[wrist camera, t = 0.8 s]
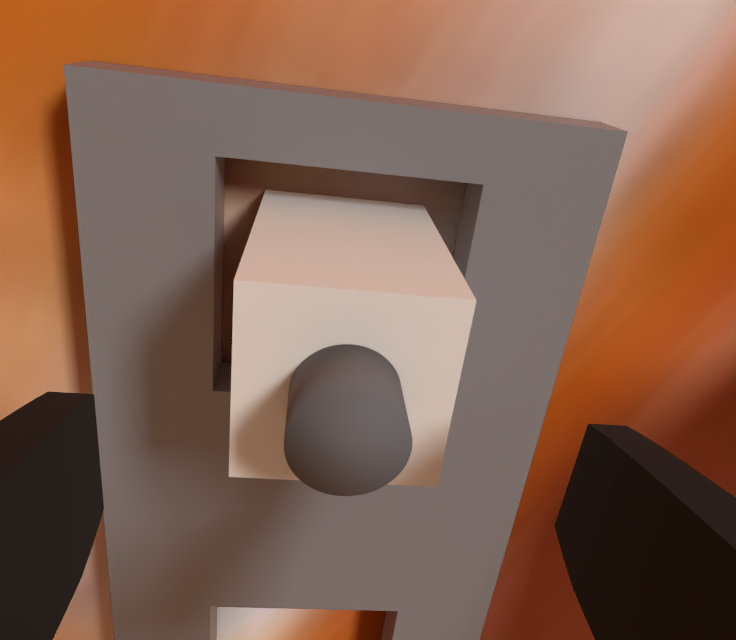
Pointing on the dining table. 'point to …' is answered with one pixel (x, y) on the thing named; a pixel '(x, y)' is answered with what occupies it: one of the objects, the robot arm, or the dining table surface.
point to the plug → (345, 344)
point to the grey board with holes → (213, 378)
